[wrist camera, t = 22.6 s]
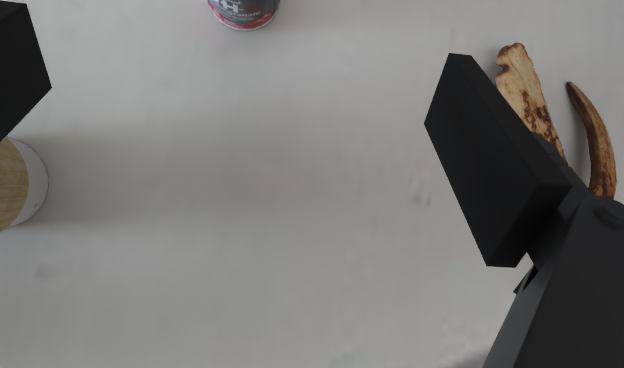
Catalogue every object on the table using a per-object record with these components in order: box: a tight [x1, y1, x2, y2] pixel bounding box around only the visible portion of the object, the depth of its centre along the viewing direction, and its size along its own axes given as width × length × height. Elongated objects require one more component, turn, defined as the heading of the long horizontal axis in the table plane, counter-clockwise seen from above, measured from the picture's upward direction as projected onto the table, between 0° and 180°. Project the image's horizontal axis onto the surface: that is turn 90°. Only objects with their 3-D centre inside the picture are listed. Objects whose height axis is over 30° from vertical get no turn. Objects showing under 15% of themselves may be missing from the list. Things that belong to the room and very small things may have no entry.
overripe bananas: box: [495, 43, 617, 200], centre depth 32 cm, size 9×5×18 cm
